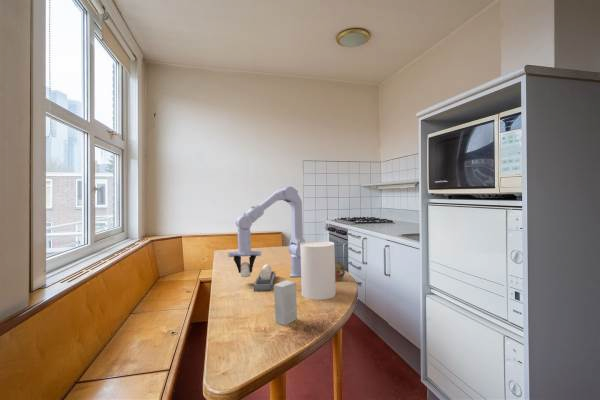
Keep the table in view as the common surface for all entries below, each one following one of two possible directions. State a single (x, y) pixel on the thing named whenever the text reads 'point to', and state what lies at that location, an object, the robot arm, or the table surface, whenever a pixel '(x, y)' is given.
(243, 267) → the egg
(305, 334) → the table surface
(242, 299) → the table surface
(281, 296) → the skincare box
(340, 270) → the tin
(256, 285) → the egg crate
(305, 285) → the canister
